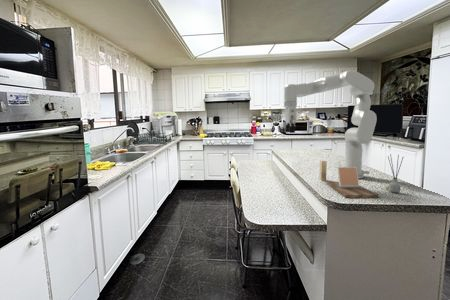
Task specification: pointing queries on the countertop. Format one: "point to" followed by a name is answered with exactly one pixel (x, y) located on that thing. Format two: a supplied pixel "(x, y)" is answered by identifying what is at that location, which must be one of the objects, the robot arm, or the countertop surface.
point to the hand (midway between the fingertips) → (290, 132)
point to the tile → (348, 177)
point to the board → (352, 191)
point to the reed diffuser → (394, 180)
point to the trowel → (322, 170)
